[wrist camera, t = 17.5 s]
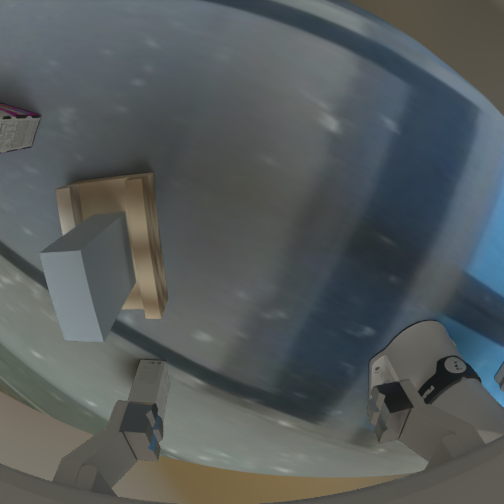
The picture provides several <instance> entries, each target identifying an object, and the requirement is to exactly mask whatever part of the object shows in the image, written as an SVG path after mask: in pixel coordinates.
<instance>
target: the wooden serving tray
mask: <svg viewBox="0 0 504 504" xmlns="http://www.w3.org/2000/svg"><path fill="white" fill-rule="evenodd" d="M55 191H56V198H57V205H58V211H59V217H60V223H61V229H62V234H63V235H65V234H66V233H68V232H69V231H70V230H72V229H73V228H75V227H76V226H77V225H79V224H80V223H82V222H83V221H85V220H86V219H88V218H89V217H91V216H92V215H98V214H109V213H120V212H126V219H127V226H128V233H129V240H130V247H131V253H132V259H133V265H134V271H135V277H136V283H135V285H134V287H133V289H132V290H131V292H130V294H129V296H128V298H127V300H126V301H125V303H124V305H123V307H122V309H144V312H145V317H146V319H161V318H162V315H163V312H164V309H165V306H166V303H167V300H168V293H167V286H166V279H165V273H164V265H163V258H162V251H161V243H160V234H159V226H158V217H157V207H156V197H155V186H154V174H153V173H142V174H133V175H124V176H115V177H107V178H99V179H92V180H85V181H78V182H73V183H71V184H68V185H66V186H63V187H60V188H58V189H55Z"/></svg>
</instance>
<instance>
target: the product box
mask: <svg viewBox="0 0 504 504" xmlns="http://www.w3.org/2000/svg"><path fill="white" fill-rule="evenodd" d="M39 254H40V258H41V262H42V266H43V270H44V274H45V278H46V281H47V285H48V289H49V292H50V296H51V299H52V302H53V305H54V309H55V312H56V315H57V318H58V321H59V324H60V327H61V330H62V333H63V336H64V338H65V340H70V341H89V342H104V341H105V339H106V337H107V335H108V333H109V331H110V329H111V327H112V326H113V324H114V322H115V320H116V318H117V316H118V314H119V312H120V311H121V309H122V307H123V305H124V303H125V301H126V300H127V298H128V296H129V294H130V292H131V290H132V289H133V287H134V285H135V283H136V277H135V271H134V265H133V259H132V253H131V247H130V240H129V233H128V226H127V219H126V212H120V213H109V214H98V215H92V216H91V217H89V218H88V219H86V220H85V221H83V222H82V223H80V224H79V225H77V226H76V227H75V228H73V229H72V230H70V231H69V232H68V233H66V234H65V235H63V236H62V237H61V238H59V239H58V240H56V241H55V242H54V243H52V244H51V245H50V246H48V247H47V248H46V249H44V250H43V251H42V252H40V253H39Z"/></svg>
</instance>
